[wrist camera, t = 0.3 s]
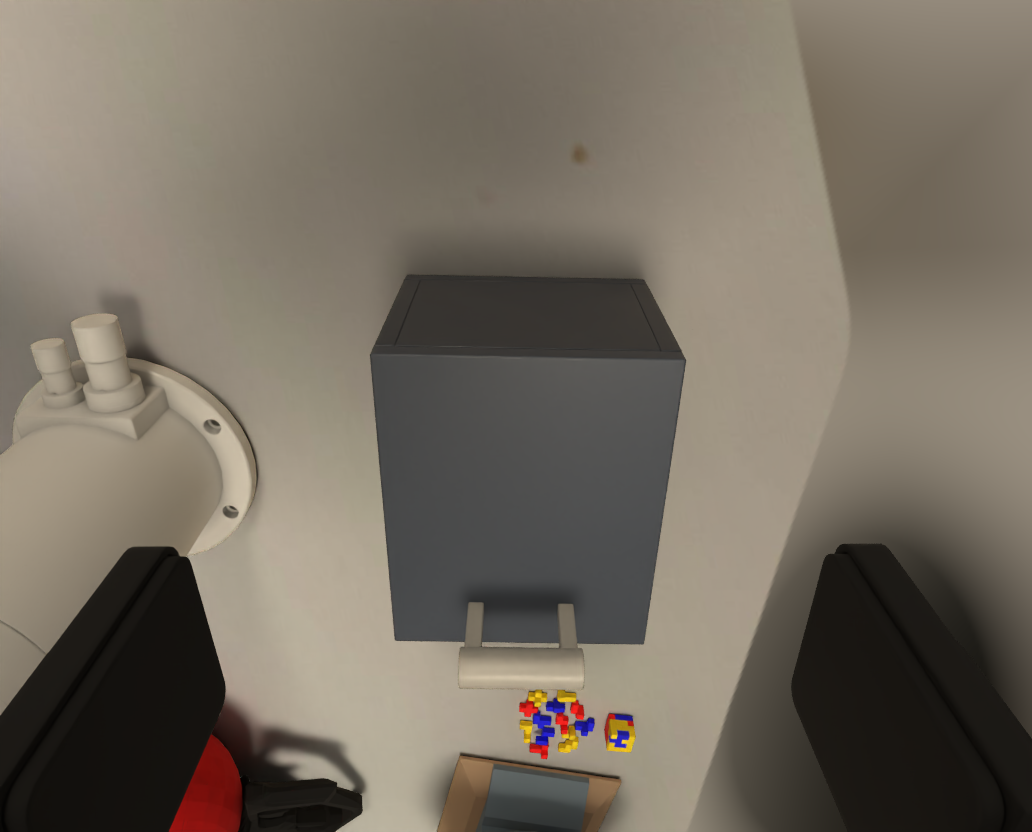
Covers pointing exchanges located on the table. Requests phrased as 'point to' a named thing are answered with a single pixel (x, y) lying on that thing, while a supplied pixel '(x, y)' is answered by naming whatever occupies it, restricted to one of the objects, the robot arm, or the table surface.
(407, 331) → the open box
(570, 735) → the building blocks
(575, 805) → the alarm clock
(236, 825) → the decorative object
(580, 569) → the box lid
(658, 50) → the table surface
